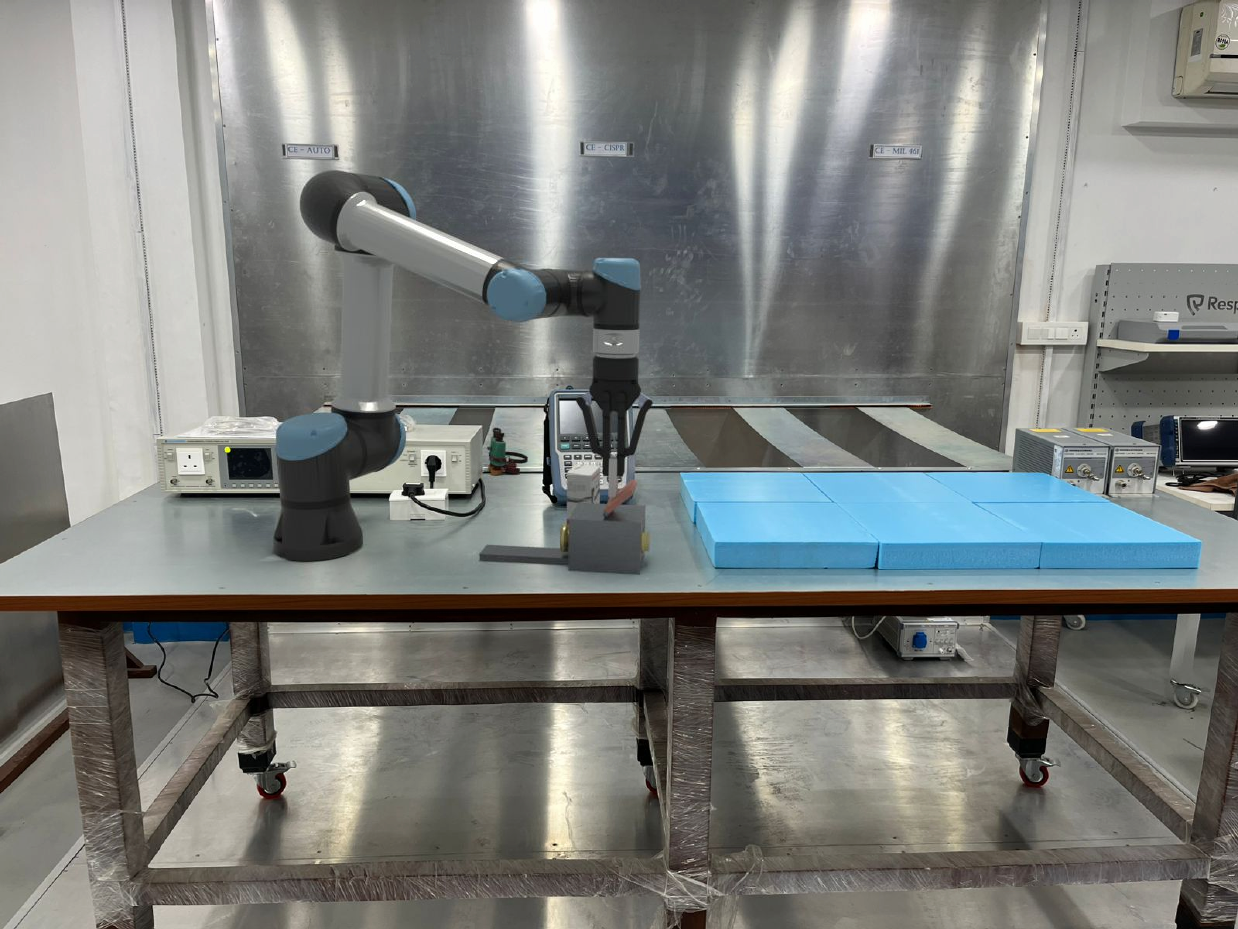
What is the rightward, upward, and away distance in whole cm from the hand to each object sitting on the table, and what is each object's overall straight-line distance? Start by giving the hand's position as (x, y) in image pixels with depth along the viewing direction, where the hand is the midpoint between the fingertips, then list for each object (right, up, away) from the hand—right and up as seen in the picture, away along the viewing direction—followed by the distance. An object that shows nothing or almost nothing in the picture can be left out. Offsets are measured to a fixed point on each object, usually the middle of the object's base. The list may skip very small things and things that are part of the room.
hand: (613, 494), depth 143 cm
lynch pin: (-1, -10, +3) cm, 11 cm away
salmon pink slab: (-1, -2, +1) cm, 3 cm away
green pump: (-27, +3, +65) cm, 70 cm away
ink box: (-6, -7, +22) cm, 24 cm away
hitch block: (-9, -11, +4) cm, 15 cm away
